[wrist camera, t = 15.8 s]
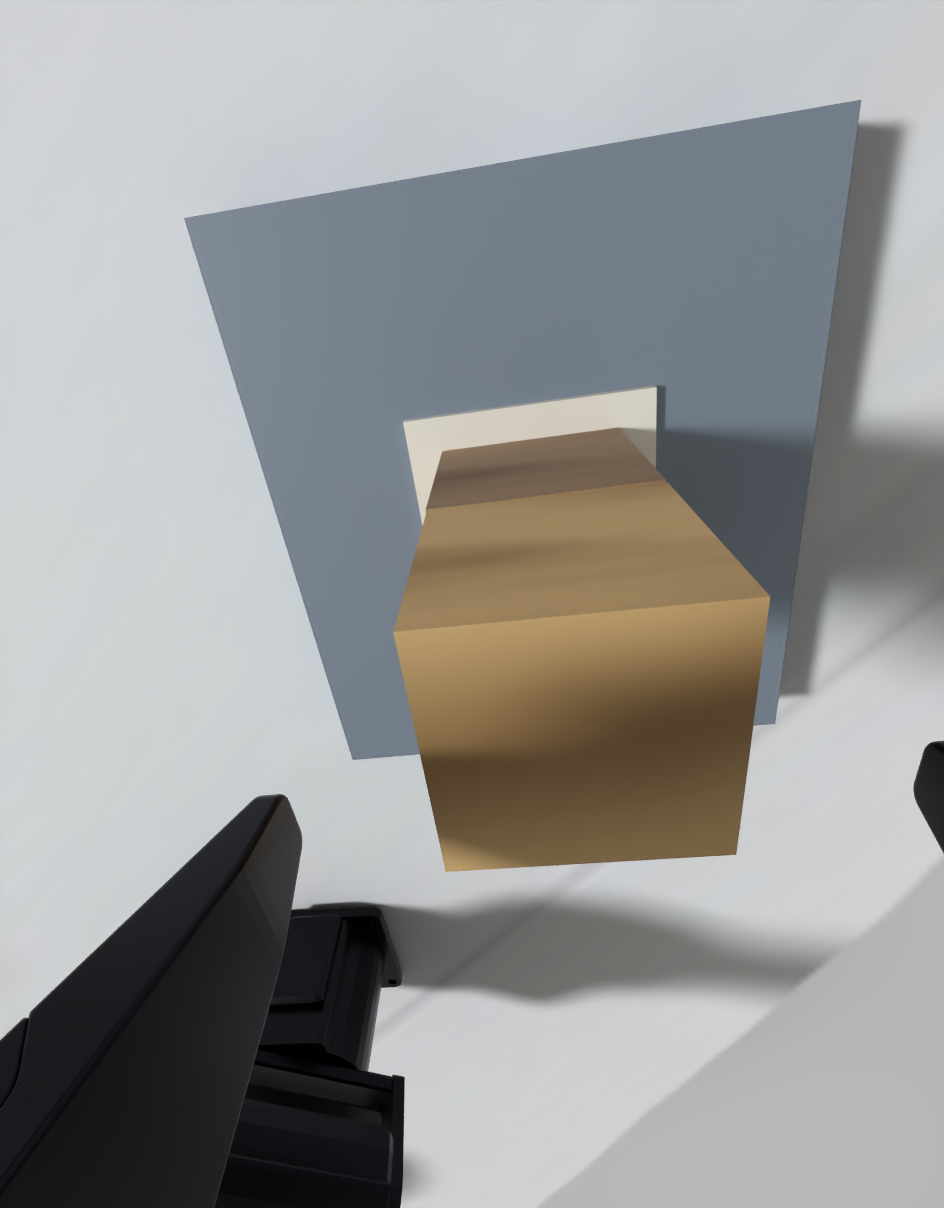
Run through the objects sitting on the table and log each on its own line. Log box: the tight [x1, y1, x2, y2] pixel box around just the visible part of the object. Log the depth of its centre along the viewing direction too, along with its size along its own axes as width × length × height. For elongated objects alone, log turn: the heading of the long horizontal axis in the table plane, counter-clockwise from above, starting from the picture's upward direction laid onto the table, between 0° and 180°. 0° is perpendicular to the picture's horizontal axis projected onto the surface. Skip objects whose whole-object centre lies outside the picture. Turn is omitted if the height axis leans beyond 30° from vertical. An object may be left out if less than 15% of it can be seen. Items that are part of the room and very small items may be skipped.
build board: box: [184, 100, 861, 760], centre depth 19 cm, size 18×16×2 cm
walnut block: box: [425, 427, 666, 512], centre depth 16 cm, size 5×5×5 cm
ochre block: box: [393, 483, 770, 872], centre depth 11 cm, size 5×5×5 cm
